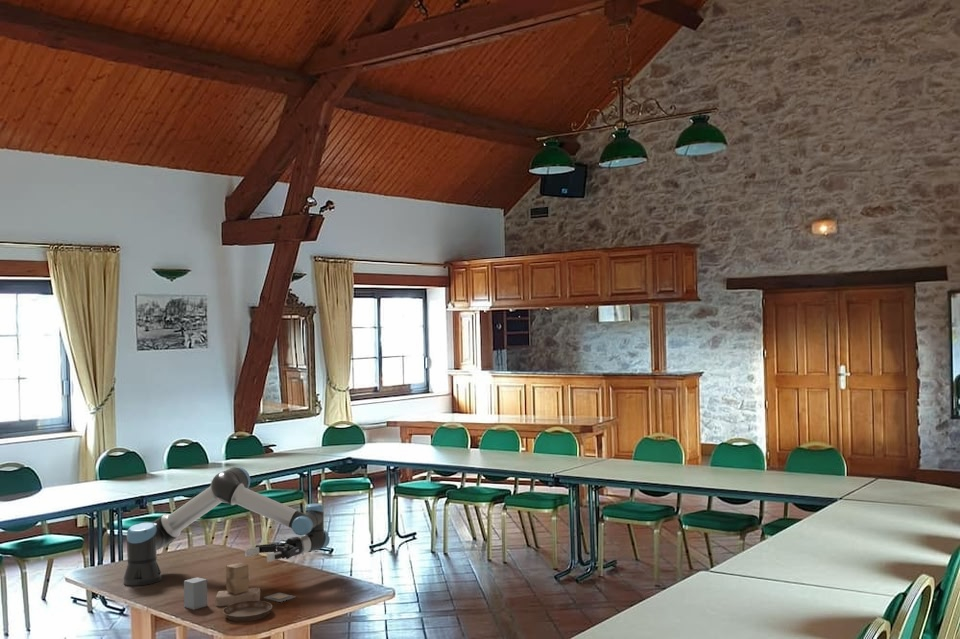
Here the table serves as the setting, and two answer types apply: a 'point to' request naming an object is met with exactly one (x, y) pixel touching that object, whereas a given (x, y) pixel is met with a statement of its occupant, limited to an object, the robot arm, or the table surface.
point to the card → (279, 597)
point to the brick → (237, 597)
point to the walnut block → (237, 578)
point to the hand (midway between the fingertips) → (256, 555)
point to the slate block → (195, 593)
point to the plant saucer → (247, 610)
